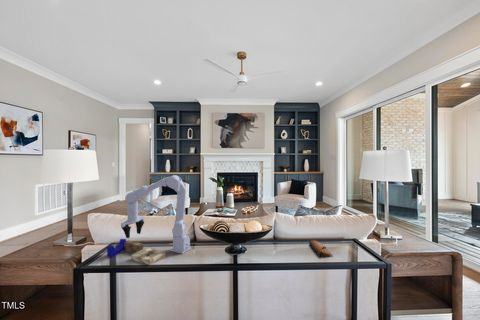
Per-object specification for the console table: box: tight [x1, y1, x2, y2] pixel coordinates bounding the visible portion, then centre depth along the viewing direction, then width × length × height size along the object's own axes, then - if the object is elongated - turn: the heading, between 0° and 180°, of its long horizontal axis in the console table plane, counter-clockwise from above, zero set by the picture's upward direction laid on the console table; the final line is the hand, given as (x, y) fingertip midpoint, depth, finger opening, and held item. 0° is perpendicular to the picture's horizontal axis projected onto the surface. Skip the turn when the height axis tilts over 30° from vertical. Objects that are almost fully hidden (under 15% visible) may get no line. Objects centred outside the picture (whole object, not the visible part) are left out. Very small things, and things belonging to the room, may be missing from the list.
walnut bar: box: [124, 240, 144, 254], centre depth 142 cm, size 12×3×5 cm, turn 63°
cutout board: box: [130, 247, 167, 266], centre depth 132 cm, size 14×11×2 cm
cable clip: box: [106, 238, 127, 258], centre depth 140 cm, size 12×4×6 cm, turn 169°
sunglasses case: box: [308, 239, 334, 258], centre depth 142 cm, size 18×7×7 cm
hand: (133, 235), depth 141 cm, fingers open, 7 cm apart
